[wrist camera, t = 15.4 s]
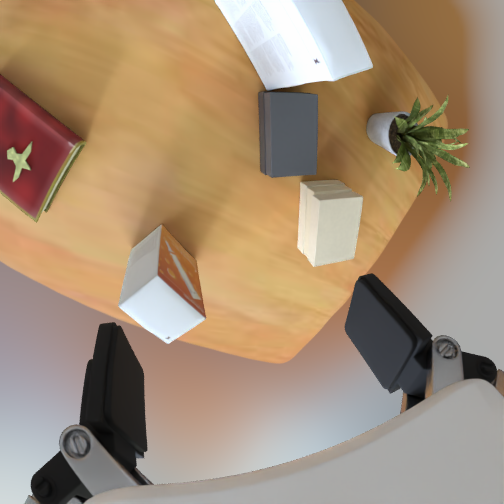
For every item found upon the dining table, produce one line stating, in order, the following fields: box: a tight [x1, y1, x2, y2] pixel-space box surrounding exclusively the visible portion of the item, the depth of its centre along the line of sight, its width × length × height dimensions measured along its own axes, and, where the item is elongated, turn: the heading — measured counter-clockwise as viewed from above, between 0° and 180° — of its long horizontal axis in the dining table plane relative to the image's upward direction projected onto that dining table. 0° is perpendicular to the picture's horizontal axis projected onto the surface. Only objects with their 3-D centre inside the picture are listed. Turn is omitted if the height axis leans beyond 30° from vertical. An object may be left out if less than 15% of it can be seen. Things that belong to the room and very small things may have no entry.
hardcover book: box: [0, 75, 86, 223], centre depth 22 cm, size 12×21×4 cm, turn 45°
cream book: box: [308, 192, 363, 267], centre depth 37 cm, size 10×7×2 cm
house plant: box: [367, 96, 469, 200], centre depth 31 cm, size 14×14×16 cm
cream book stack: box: [298, 180, 352, 257], centre depth 40 cm, size 11×6×4 cm, turn 2°
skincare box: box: [214, 0, 373, 91], centre depth 18 cm, size 21×6×16 cm, turn 27°
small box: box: [118, 224, 206, 344], centre depth 33 cm, size 8×6×13 cm
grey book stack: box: [258, 92, 318, 178], centre depth 32 cm, size 11×6×4 cm, turn 2°
